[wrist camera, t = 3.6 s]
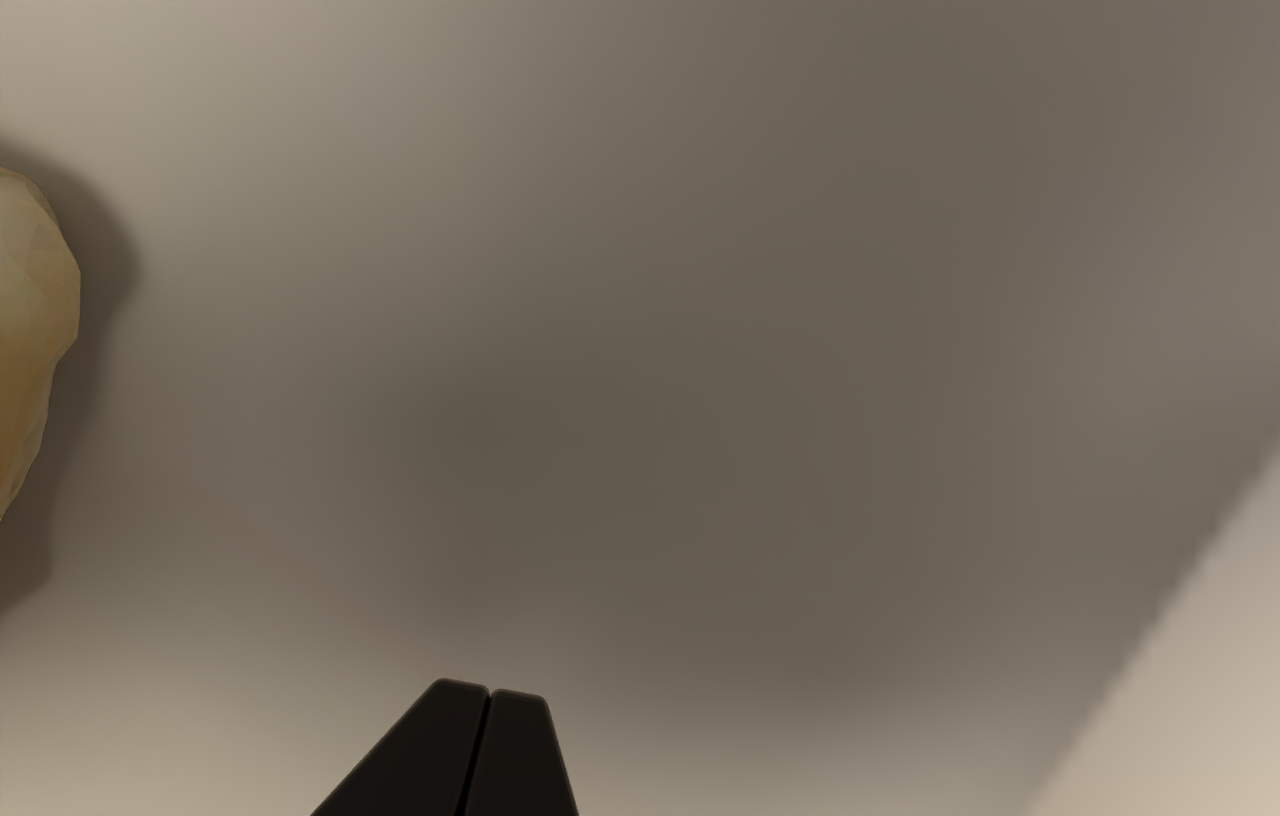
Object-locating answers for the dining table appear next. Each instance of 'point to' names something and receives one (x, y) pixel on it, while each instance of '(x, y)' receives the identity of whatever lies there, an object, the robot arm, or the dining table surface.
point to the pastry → (30, 322)
